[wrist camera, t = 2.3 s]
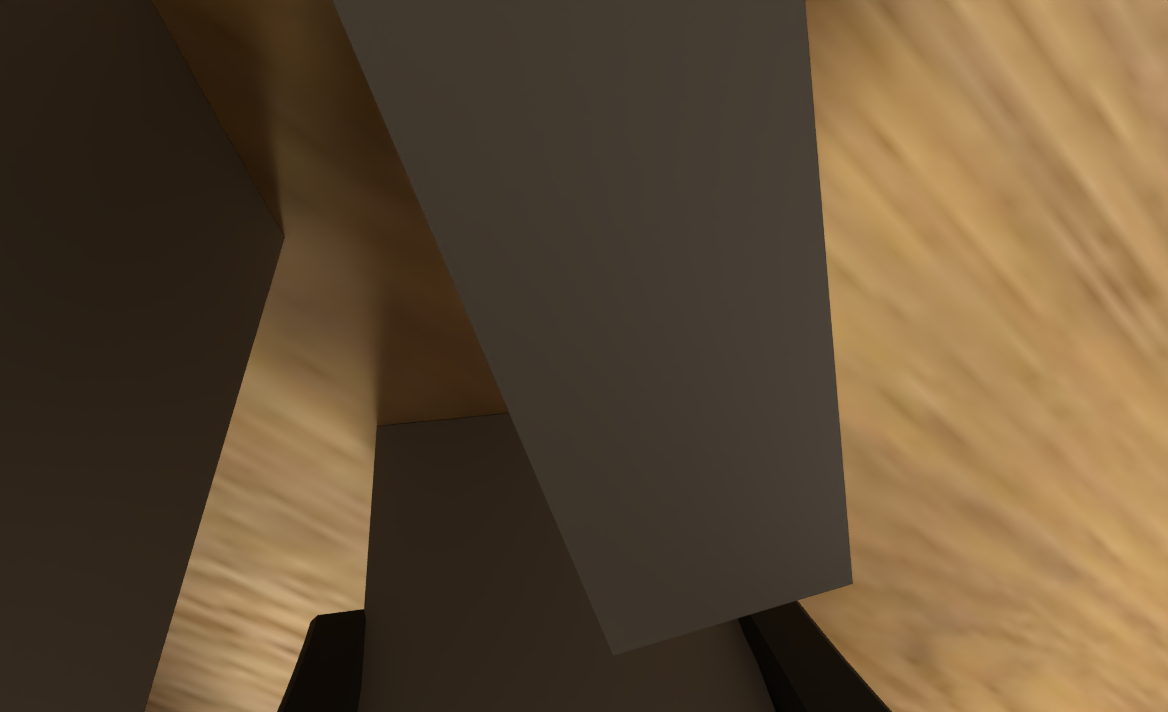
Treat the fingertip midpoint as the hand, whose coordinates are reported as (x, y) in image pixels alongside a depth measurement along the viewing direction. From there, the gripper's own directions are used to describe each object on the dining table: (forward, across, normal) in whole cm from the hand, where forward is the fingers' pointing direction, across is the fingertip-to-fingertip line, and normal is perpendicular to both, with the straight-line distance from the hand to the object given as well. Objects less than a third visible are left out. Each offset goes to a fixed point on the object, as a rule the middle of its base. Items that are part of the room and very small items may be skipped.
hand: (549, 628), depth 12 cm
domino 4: (+4, 0, -8) cm, 9 cm away
